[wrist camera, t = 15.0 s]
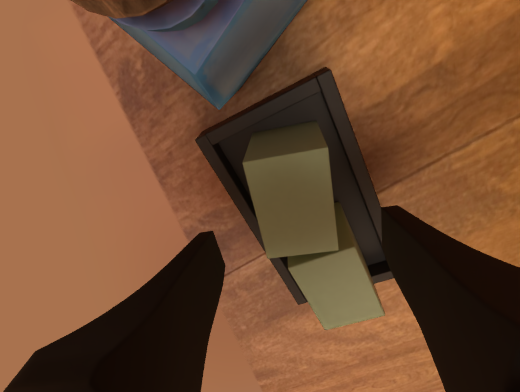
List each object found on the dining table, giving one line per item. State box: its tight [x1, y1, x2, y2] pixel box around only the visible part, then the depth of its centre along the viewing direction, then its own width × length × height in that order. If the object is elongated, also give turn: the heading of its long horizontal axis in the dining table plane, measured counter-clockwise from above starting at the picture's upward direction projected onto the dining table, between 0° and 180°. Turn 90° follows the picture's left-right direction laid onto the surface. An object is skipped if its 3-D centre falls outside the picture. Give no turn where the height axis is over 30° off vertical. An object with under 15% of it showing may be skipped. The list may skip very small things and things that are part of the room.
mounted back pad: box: [288, 202, 385, 330], centre depth 19 cm, size 4×6×5 cm, turn 27°
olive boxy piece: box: [243, 121, 339, 259], centre depth 16 cm, size 4×6×5 cm, turn 12°
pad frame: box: [195, 67, 394, 305], centre depth 19 cm, size 9×16×2 cm, turn 27°
